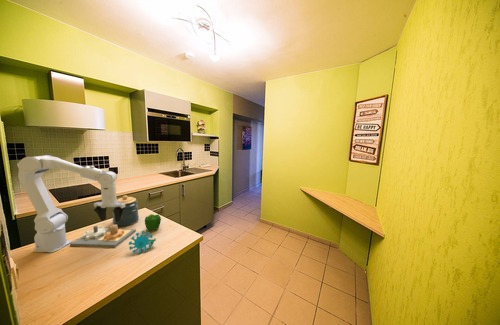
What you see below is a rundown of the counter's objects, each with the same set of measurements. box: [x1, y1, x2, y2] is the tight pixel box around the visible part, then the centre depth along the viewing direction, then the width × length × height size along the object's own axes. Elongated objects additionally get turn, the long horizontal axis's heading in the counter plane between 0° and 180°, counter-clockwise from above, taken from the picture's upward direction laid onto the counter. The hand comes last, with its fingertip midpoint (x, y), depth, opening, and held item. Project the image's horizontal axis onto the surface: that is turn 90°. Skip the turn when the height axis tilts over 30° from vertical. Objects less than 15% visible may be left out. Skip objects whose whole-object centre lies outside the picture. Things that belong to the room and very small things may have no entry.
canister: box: [111, 194, 140, 228], centre depth 100 cm, size 13×13×18 cm
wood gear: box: [104, 224, 124, 240], centre depth 84 cm, size 8×8×6 cm
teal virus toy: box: [128, 230, 157, 254], centre depth 78 cm, size 11×6×10 cm
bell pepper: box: [144, 213, 162, 232], centre depth 94 cm, size 8×8×10 cm
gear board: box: [69, 225, 137, 248], centre depth 84 cm, size 22×14×6 cm, turn 90°
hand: (110, 220), depth 83 cm, fingers open, 7 cm apart
